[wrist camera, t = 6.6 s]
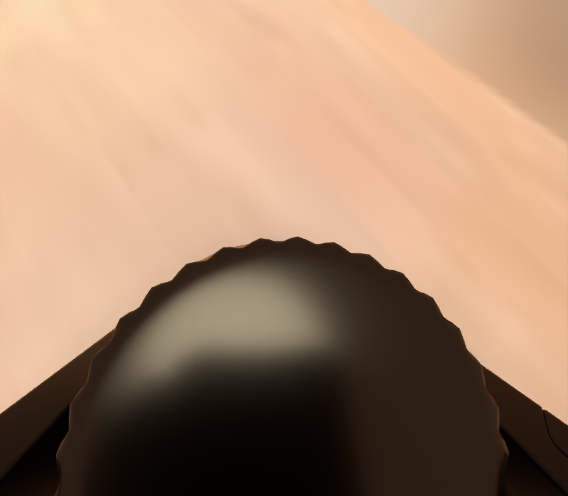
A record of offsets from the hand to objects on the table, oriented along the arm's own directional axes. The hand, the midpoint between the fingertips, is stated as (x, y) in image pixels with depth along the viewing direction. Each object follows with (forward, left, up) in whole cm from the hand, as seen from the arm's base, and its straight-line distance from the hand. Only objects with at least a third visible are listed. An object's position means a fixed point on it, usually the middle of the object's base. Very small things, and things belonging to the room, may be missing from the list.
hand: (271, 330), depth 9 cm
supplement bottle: (-1, 0, -7) cm, 7 cm away
